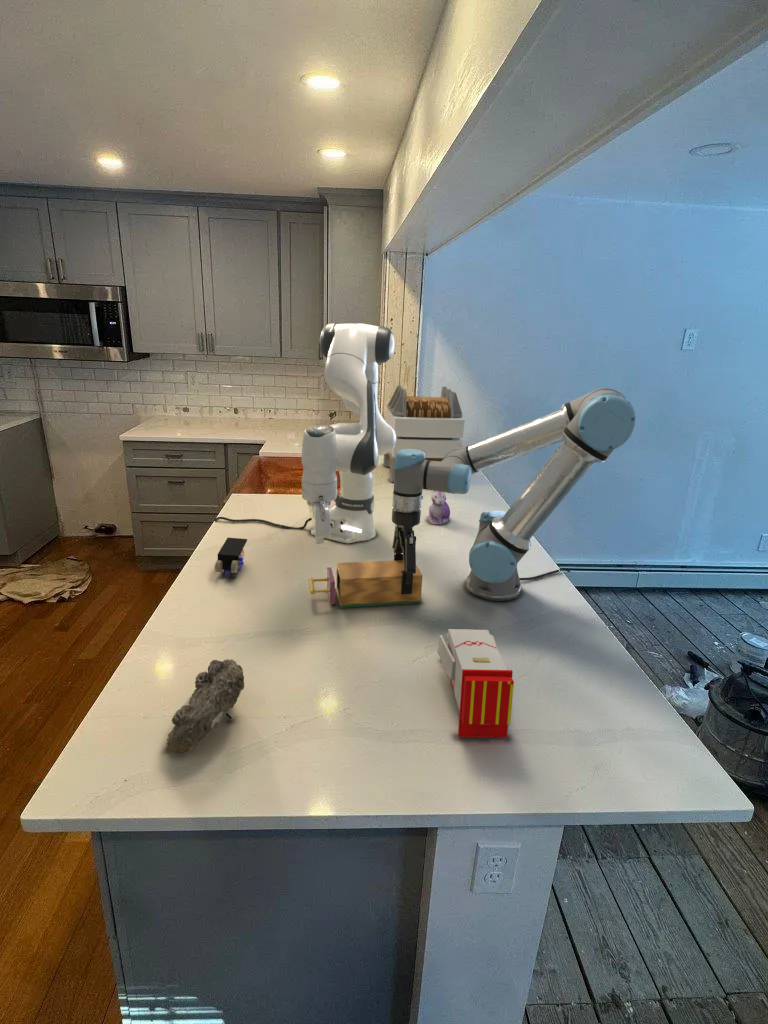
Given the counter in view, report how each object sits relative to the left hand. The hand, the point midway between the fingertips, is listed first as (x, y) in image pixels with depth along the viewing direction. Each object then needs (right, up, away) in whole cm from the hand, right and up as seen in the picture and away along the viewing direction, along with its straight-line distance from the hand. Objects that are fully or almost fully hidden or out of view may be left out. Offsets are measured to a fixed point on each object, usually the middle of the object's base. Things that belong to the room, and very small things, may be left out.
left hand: (319, 541), depth 147 cm
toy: (+35, -30, -28) cm, 54 cm away
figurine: (+37, +4, +67) cm, 77 cm away
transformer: (+34, +26, +128) cm, 135 cm away
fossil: (-16, -31, -39) cm, 53 cm away
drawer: (+9, -15, +8) cm, 19 cm away
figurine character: (-28, -9, +21) cm, 36 cm away
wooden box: (+15, -16, +9) cm, 23 cm away
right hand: (+22, -12, +9) cm, 27 cm away
